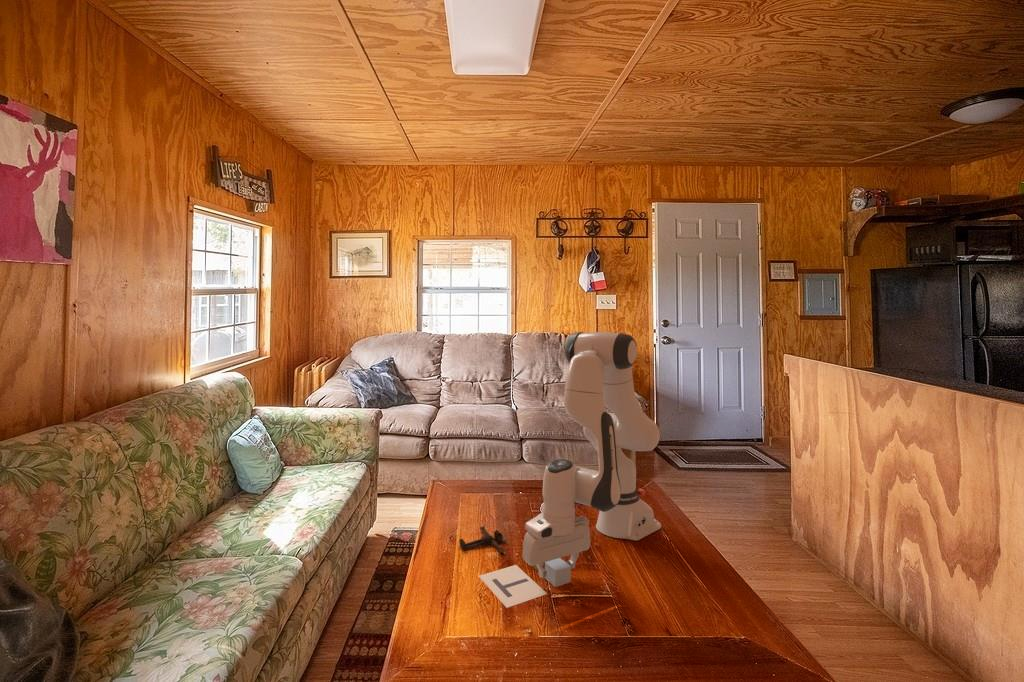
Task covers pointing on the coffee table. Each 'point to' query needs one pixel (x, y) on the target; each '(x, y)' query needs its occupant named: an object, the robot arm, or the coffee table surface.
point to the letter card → (512, 585)
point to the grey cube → (558, 572)
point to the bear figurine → (484, 541)
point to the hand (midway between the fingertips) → (556, 571)
